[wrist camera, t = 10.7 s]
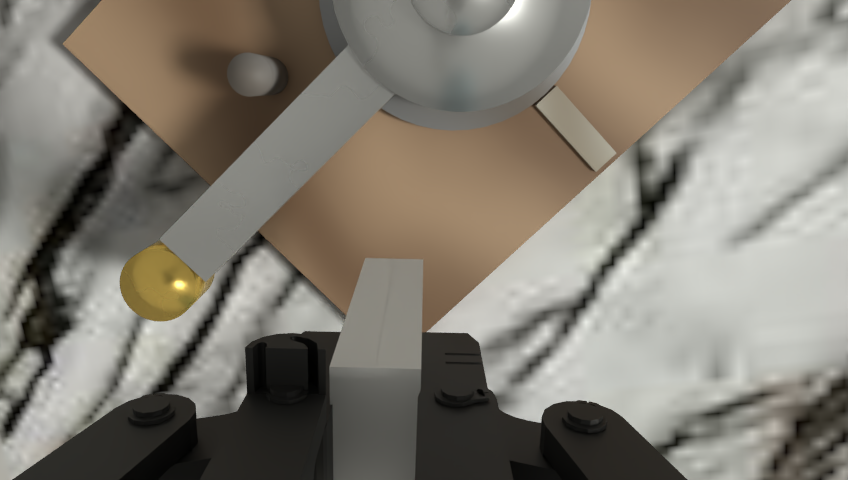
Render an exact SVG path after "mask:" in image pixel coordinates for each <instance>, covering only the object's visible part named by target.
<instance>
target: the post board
mask: <svg viewBox="0 0 848 480" xmlns="http://www.w3.org/2000/svg"><path fill="white" fill-rule="evenodd" d="M790 1H791V0H591V2H590V5H589V9H588V13H587V17H586V19H585V22H584V24H583V27H582V29H581V32H580V34H579V36H578V38H577V39H576V41H575V43H574V45H573V47H572V49H571V50H570V51H569V53H568V54H567V56H566V57H565V58H564V60H563V61H562V63H561V64H560V65H559V66H558V67H557V68H556V69H555V70H554V71H553V72H552V73H551V75H550V76H548V77H547V78H546V79H545V80H544V81H542V82H541V83H540V84H539V85H538V86H537V87H535V88H533V89H532V90H530V91H529V92H527V93H526V94H524V95H523V96H521V97H519V98H516V99H514V100H512V101H510V102H508V103H505V104H502V105H499V106H496V107H493V108H489V109H484V110H478V111H468V112H453V111H441V110H437V109H432V108H428V107H424V106H421V105H419V104H416V103H413V102H411V101H408V100H407V99H405V98H403V97H401V96H399V95H397V94H395V95H394V96H393V97H392V98H391V99H390V100H389V101H388V102H387V103H386V104H385V105H384V106H383V107H382V108H381V109H380V110H379V111H378V112H377V113H376V114H375V115H374V116H373V117H372V118H371V119H370V120H369V121H368V122H367V123H366V124H365V125H364V126H363V127H362V128H361V129H360V130H359V131H358V132H357V133H356V134H355V135H354V136H353V137H352V138H351V139H350V140H349V141H348V142H347V143H346V144H345V145H344V146H343V147H342V148H341V149H340V150H339V151H338V152H337V153H336V154H335V155H334V156H333V157H332V158H331V159H330V160H329V161H328V162H327V163H326V164H325V165H324V166H323V167H322V168H321V169H320V170H319V171H318V172H317V173H316V174H315V175H314V176H313V177H311V178H310V179H309V180H308V181H307V182H306V183H305V184H304V185H303V186H302V187H301V188H300V189H299V190H298V191H297V192H296V193H295V194H294V195H293V196H292V197H291V198H290V199H289V200H288V201H287V202H286V203H285V204H284V205H283V206H282V207H281V208H280V209H279V210H278V211H277V212H276V213H275V214H274V215H273V216H272V217H271V218H270V219H269V220H268V221H267V222H266V223H265V224H264V225H263V226H262V227H261V228H260V229H259V230H258V232H259V233H260V234H262V235H263V236H264V237H265V238H266V239H267V240H268V241H269V242H270V243H271V244H272V245H273V246H274V247H275V248H276V249H277V250H278V251H279V252H280V253H281V254H282V255H283V256H285V257H286V258H287V259H288V260H289V261H290V262H291V263H292V264H293V265H294V266H295V267H296V268H297V269H298V270H299V271H300V272H301V273H302V274H303V275H304V276H305V277H306V278H308V279H309V280H310V281H311V282H312V283H313V284H314V285H315V286H316V287H317V288H318V289H319V290H320V291H321V292H322V293H323V294H324V295H325V296H326V297H327V298H328V299H329V300H331V301H332V302H333V303H334V304H335V305H336V306H337V307H338V308H339V309H340V310H341V311H342V312H343V313H344V314H345V315H347V312H348V309H349V306H350V303H351V300H352V297H353V294H354V291H355V288H356V285H357V282H358V279H359V276H360V273H361V270H362V267H363V264H364V261H365V258H386V259H423V300H422V332H427V331H428V330H429V329H430V328H431V327H432V326H433V325H434V324H436V323H437V322H438V321H439V320H440V319H441V318H442V317H443V316H444V315H445V314H447V313H448V312H449V311H450V310H451V309H452V308H453V307H454V306H455V305H456V304H458V303H459V302H460V301H461V300H462V299H463V298H464V297H465V296H466V295H467V294H469V293H470V292H471V291H472V290H473V289H474V288H475V287H476V286H477V285H478V284H480V283H481V282H482V281H483V280H484V279H485V278H486V277H487V276H488V275H489V274H491V273H492V272H493V271H494V270H495V269H496V268H497V267H498V266H499V265H500V264H502V263H503V262H504V261H505V260H506V259H507V258H508V257H509V256H510V255H511V254H513V253H514V252H515V251H516V250H517V249H518V248H519V247H520V246H521V245H522V244H524V243H525V242H526V241H527V240H528V239H529V238H530V237H531V236H532V235H533V234H535V233H536V232H537V231H538V230H539V229H540V228H541V227H542V226H543V225H544V224H546V223H547V222H548V221H549V220H550V219H551V218H552V217H553V216H554V215H555V214H557V213H558V212H559V211H560V210H561V209H562V208H563V207H564V206H565V205H566V204H568V203H569V202H570V201H571V200H572V199H573V198H574V197H575V196H576V195H577V194H579V193H580V192H581V191H582V190H583V189H584V188H585V187H586V186H587V185H588V184H590V183H591V182H592V181H593V180H594V179H595V178H596V177H597V176H598V175H599V174H601V173H602V172H603V171H604V170H605V169H606V168H607V167H608V166H609V165H610V164H612V163H613V162H614V161H615V160H616V159H617V158H618V157H619V156H620V155H621V154H623V153H624V152H625V151H626V150H627V149H628V148H629V147H630V146H631V145H632V144H634V143H635V142H636V141H637V140H638V139H639V138H640V137H641V136H642V135H643V134H645V133H646V132H647V131H648V130H649V129H650V128H651V127H652V126H653V125H654V124H656V123H657V122H658V121H659V120H660V119H661V118H662V117H663V116H664V115H665V114H667V113H668V112H669V111H670V110H671V109H672V108H673V107H674V106H675V105H676V104H678V103H679V102H680V101H681V100H682V99H683V98H684V97H685V96H686V95H687V94H689V93H690V92H691V91H692V90H693V89H694V88H695V87H696V86H697V85H698V84H700V83H701V82H702V81H703V80H704V79H705V78H706V77H707V76H708V75H709V74H711V73H712V72H713V71H714V70H715V69H716V68H717V67H718V66H719V65H720V64H722V63H723V62H724V61H725V60H726V59H727V58H728V57H729V56H730V55H731V54H733V53H734V52H735V51H736V50H737V49H738V48H739V47H740V46H741V45H742V44H744V43H745V42H746V41H747V40H748V39H749V38H750V37H751V36H752V35H753V34H755V33H756V32H757V31H758V30H759V29H760V28H761V27H762V26H763V25H764V24H766V23H767V22H768V21H769V20H770V19H771V18H772V17H773V16H774V15H775V14H777V13H778V12H779V11H780V10H781V9H782V8H783V7H784V6H785V5H786V4H788V3H789V2H790ZM63 45H64V46H65V47H66V48H67V49H68V50H69V51H70V52H71V53H72V54H73V55H74V56H76V57H77V58H78V59H79V60H80V61H81V62H82V63H83V64H84V65H85V66H86V67H87V68H88V69H89V70H90V71H91V72H92V73H93V74H94V75H95V76H96V77H97V78H99V79H100V80H101V81H102V82H103V83H104V84H105V85H106V86H107V87H108V88H109V89H110V90H111V91H112V92H113V93H114V94H115V95H116V96H117V97H118V98H119V99H120V100H122V101H123V102H124V103H125V104H126V105H127V106H128V107H129V108H130V109H131V110H132V111H133V112H134V113H135V114H136V115H137V116H138V117H139V118H140V119H141V120H142V121H143V122H144V123H146V124H147V125H148V126H149V127H150V128H151V129H152V130H153V131H154V132H155V133H156V134H157V135H158V136H159V137H160V138H161V139H162V140H163V141H164V142H165V143H166V144H167V145H169V146H170V147H171V148H172V149H173V150H174V151H175V152H176V153H177V154H178V155H179V156H180V157H181V158H182V159H183V160H184V161H185V162H186V163H187V164H188V165H189V166H190V167H192V168H193V169H194V170H195V171H196V172H197V173H198V174H199V175H200V176H201V177H202V178H203V179H204V180H205V181H206V182H207V183H208V184H209V185H210V186H211V185H212V184H213V183H214V182H215V181H216V180H217V179H218V178H219V177H220V176H221V175H222V174H223V173H224V172H225V171H226V170H227V169H228V168H229V167H230V166H231V165H232V164H233V163H234V162H235V161H236V160H237V159H238V158H239V157H240V156H241V155H242V154H243V153H244V152H245V150H246V149H247V148H248V147H249V146H250V145H251V144H252V143H253V142H254V141H255V140H256V139H257V138H258V137H259V136H260V135H261V134H262V133H263V132H264V131H265V130H266V129H267V128H268V127H269V126H270V125H271V124H272V123H273V122H274V121H275V120H276V119H277V118H278V117H279V116H280V115H281V114H282V113H283V111H284V110H285V109H286V108H287V107H288V106H289V105H290V104H291V103H292V102H293V101H294V100H295V99H296V98H297V97H298V96H299V95H300V94H301V93H302V92H303V91H304V90H305V89H306V88H307V87H308V86H309V85H310V84H311V83H312V82H313V81H314V80H315V79H316V78H317V77H318V76H319V75H320V74H321V72H322V71H323V70H324V69H325V68H326V67H327V66H328V65H329V64H330V63H331V62H332V61H333V60H334V59H335V58H336V57H337V56H338V55H339V54H340V53H341V52H342V51H343V50H344V49H345V48H346V47H347V46H348V43H347V41H346V39H345V37H344V35H343V33H342V31H341V29H340V26H339V23H338V20H337V17H336V14H335V11H334V6H333V1H332V0H101V2H100V3H99V4H98V5H97V6H96V7H95V8H94V9H93V10H92V12H91V13H90V14H89V15H88V16H87V17H86V18H85V19H84V21H83V22H82V23H81V24H80V25H79V26H78V27H77V28H76V29H75V31H74V32H73V33H72V34H71V35H70V36H69V37H68V38H67V40H66V41H65V42H64V43H63Z"/></svg>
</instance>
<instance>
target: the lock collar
mask: <svg viewBox="0 0 848 480" xmlns="http://www.w3.org/2000/svg"><path fill="white" fill-rule="evenodd" d="M332 1H333V6H334V11H335V14H336V17H337V20H338V23H339V26H340V29H341V31H342V33H343V35H344V37H345V39H346V41H347V43H348V46H347V47H346V48H345V49H344V50H343V51H342V52H341V53H340V54H339V55H338V56H337V57H336V58H335V59H334V60H333V61H332V62H331V63H330V64H329V65H328V66H327V67H326V68H325V69H324V70H323V71H322V72H321V74H320V75H319V76H318V77H317V78H316V79H315V80H314V81H313V82H312V83H311V84H310V85H309V86H308V87H307V88H306V89H305V90H304V91H303V92H302V93H301V94H300V95H299V96H298V97H297V98H296V99H295V100H294V101H293V102H292V103H291V104H290V105H289V106H288V107H287V108H286V109H285V110H284V111H283V113H282V114H281V115H280V116H279V117H278V118H277V119H276V120H275V121H274V122H273V123H272V124H271V125H270V126H269V127H268V128H267V129H266V130H265V131H264V132H263V133H262V134H261V135H260V136H259V137H258V138H257V139H256V140H255V141H254V142H253V143H252V144H251V145H250V146H249V147H248V148H247V149H246V150H245V152H244V153H243V154H242V155H241V156H240V157H239V158H238V159H237V160H236V161H235V162H234V163H233V164H232V165H231V166H230V167H229V168H228V169H227V170H226V171H225V172H224V173H223V174H222V175H221V176H220V177H219V178H218V179H217V180H216V181H215V182H214V183H213V184H212V185H211V186H210V187H209V188H208V189H207V191H206V192H205V193H204V194H203V195H202V196H201V197H200V198H199V199H198V200H197V201H196V202H195V203H194V204H193V205H192V206H191V207H190V208H189V209H188V210H187V211H186V212H185V213H184V214H183V215H182V216H181V217H180V218H179V219H178V220H177V221H176V222H175V223H174V224H173V225H172V226H171V227H170V228H169V230H168V231H167V232H166V233H165V234H164V235H163V236H162V237H161V238H160V239H159V241H157V242H156V243H154V244H152V245H151V246H149V247H148V248H146V249H144V250H143V251H141V252H139V253H138V254H136V255H135V256H133V257H132V258H131V259H129V260H128V262H127V263H126V264H125V266H124V267H123V270H122V272H121V276H120V289H121V293H122V296H123V298H124V300H125V302H126V303H127V305H128V306H129V307H130V308H131V309H132V310H133V311H134V312H135V313H137V314H138V315H140V316H141V317H144V318H146V319H149V320H153V321H169V320H172V319H175V318H177V317H179V316H181V315H182V314H183V313H185V312H186V311H187V310H188V309H189V308H190V307H191V306H192V305H193V304H194V303H195V302H196V301H197V300H198V299H199V298H200V297H201V296H202V295H203V294H204V293H205V292H206V291H207V290H208V289H209V287H210V286H211V284H212V282H213V279H214V275H215V273H216V272H217V271H218V270H219V269H220V268H221V267H222V266H223V265H224V264H225V263H226V262H227V261H228V260H229V259H230V258H231V257H232V256H233V255H234V254H235V253H236V252H237V251H238V250H239V249H240V248H241V247H242V246H243V245H244V244H245V243H246V242H247V241H248V240H249V239H250V238H251V237H252V236H253V235H254V234H255V233H256V232H257V231H258V230H259V229H260V228H261V227H262V226H263V225H264V224H265V223H266V222H267V221H268V220H269V219H270V218H271V217H272V216H273V215H274V214H275V213H276V212H277V211H278V210H279V209H280V208H281V207H282V206H283V205H284V204H285V203H286V202H287V201H288V200H289V199H290V198H291V197H292V196H293V195H294V194H295V193H296V192H297V191H298V190H299V189H300V188H301V187H302V186H303V185H304V184H305V183H306V182H307V181H308V180H309V179H310V178H311V177H313V176H314V175H315V174H316V173H317V172H318V171H319V170H320V169H321V168H322V167H323V166H324V165H325V164H326V163H327V162H328V161H329V160H330V159H331V158H332V157H333V156H334V155H335V154H336V153H337V152H338V151H339V150H340V149H341V148H342V147H343V146H344V145H345V144H346V143H347V142H348V141H349V140H350V139H351V138H352V137H353V136H354V135H355V134H356V133H357V132H358V131H359V130H360V129H361V128H362V127H363V126H364V125H365V124H366V123H367V122H368V121H369V120H370V119H371V118H372V117H373V116H374V115H375V114H376V113H377V112H378V111H379V110H380V109H381V108H382V107H383V106H384V105H385V104H386V103H387V102H388V101H389V100H390V99H391V98H392V97H393V96H394V95H395V94H397V95H399V96H401V97H403V98H405V99H407V100H408V101H411V102H413V103H416V104H419V105H421V106H424V107H428V108H432V109H437V110H441V111H453V112H468V111H478V110H484V109H489V108H493V107H496V106H499V105H502V104H505V103H508V102H510V101H512V100H514V99H516V98H519V97H521V96H523V95H524V94H526V93H527V92H529V91H530V90H532V89H533V88H535V87H537V86H538V85H539V84H540V83H541V82H542V81H544V80H545V79H546V78H547V77H548V76H550V75H551V73H552V72H553V71H554V70H555V69H556V68H557V67H558V66H559V65H560V64H561V63H562V61H563V60H564V58H565V57H566V56H567V54H568V53H569V51H570V50H571V49H572V47H573V45H574V43H575V41H576V39H577V38H578V36H579V34H580V32H581V29H582V27H583V24H584V22H585V19H586V17H587V13H588V9H589V5H590V2H591V0H332Z"/></svg>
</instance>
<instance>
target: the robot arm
mask: <svg viewBox="0 0 848 480" xmlns="http://www.w3.org/2000/svg"><path fill="white" fill-rule="evenodd" d="M422 300H423V259H386V258H365V261H364V264H363V267H362V270H361V273H360V276H359V279H358V282H357V285H356V288H355V291H354V294H353V297H352V300H351V303H350V306H349V309H348V312H347V315H346V318H345V321H344V324H343V327H342V330H341V332H311V331H305V332H303V333H302V334H296V333H288V334H276V335H271V336H266V337H262V338H260V339H257V340H255V341H252V342H251V343H250V344H249V345H248V346H246V347H245V354H246V376H247V395H246V397H245V398H244V400H243V402H242V404H241V406H240V407H239V409H238V411H237V412H234V413H230V414H225V415H220V416H213V417H206V418H199V419H196V406H195V403H194V402H193V401H191V400H190V399H189V398H186V397H183V396H179V395H171V394H165V393H156V394H155V395H153V394H149V395H144V396H142V397H141V398H137V399H134V400H131V401H128V402H126V403H124V404H122V405H120V406H118V407H116V408H115V409H113V410H112V411H111V412H109V413H108V414H106V415H105V416H103V417H102V418H100V419H99V420H98V421H96V422H95V423H93V424H92V425H90V426H89V427H88V428H86V429H85V430H83V431H82V432H80V433H79V434H77V435H76V436H75V437H73V438H72V439H70V440H69V441H67V442H66V443H65V444H63V445H62V446H60V447H59V448H57V449H56V450H54V451H53V452H52V453H50V454H49V455H47V456H46V457H44V458H43V459H42V460H40V461H39V462H37V463H36V464H34V465H33V466H31V467H30V468H29V469H27V470H26V471H24V472H23V473H21V474H20V475H19V476H17V477H16V478H14V479H13V480H687V479H686V478H685V477H684V476H683V475H682V474H681V473H680V472H679V471H678V470H677V469H676V468H675V467H674V466H673V465H671V464H670V463H669V462H668V461H667V460H666V459H665V458H664V457H663V456H662V455H661V454H660V453H659V452H658V451H657V450H656V449H655V448H654V447H653V446H652V445H651V444H650V443H649V442H648V441H647V440H646V439H645V438H644V437H642V436H641V435H640V434H639V433H638V432H637V431H636V430H635V429H634V428H633V427H632V426H631V425H630V424H629V423H628V422H627V421H626V420H625V419H624V418H623V417H621V416H620V415H619V414H617V413H616V412H614V411H613V410H611V409H608V408H606V407H603V406H600V405H599V404H597V403H593V402H589V403H587V401H580V400H578V401H566V402H561V403H557V404H553V405H551V406H550V407H548V408H547V409H545V410H544V413H543V415H542V422H541V423H537V422H532V421H527V420H523V419H519V418H515V417H513V416H510V415H508V414H506V413H504V412H502V411H501V410H499V408H498V403H497V399H496V397H495V395H494V394H493V392H492V391H491V390H489V389H488V388H487V383H486V378H485V373H484V367H483V362H482V357H481V352H480V346H479V343H478V342H477V341H476V340H475V339H474V338H472V337H471V336H470V335H469V334H468V333H430V332H422Z"/></svg>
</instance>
